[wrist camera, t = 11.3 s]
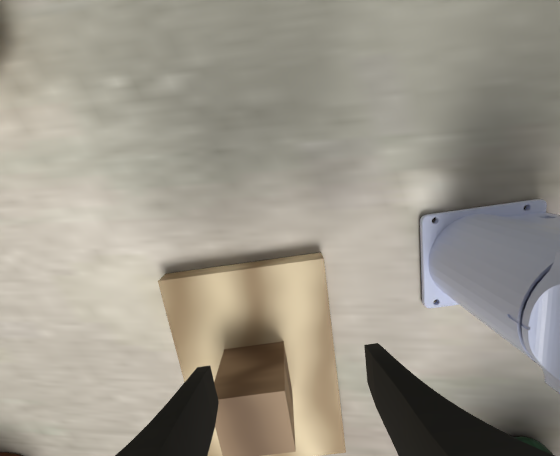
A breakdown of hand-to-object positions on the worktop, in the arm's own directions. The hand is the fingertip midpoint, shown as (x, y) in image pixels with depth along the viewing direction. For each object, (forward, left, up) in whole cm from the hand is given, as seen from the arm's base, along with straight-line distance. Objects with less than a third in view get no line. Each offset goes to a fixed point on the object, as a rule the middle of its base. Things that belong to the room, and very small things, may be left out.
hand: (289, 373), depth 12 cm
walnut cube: (+3, +7, -9) cm, 12 cm away
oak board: (+3, +8, -10) cm, 13 cm away
